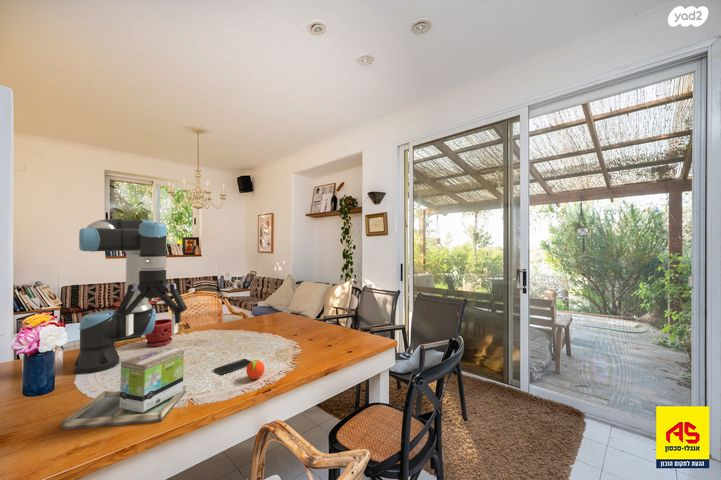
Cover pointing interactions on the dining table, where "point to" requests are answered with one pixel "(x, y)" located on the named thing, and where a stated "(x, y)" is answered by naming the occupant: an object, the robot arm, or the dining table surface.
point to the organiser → (116, 412)
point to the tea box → (151, 378)
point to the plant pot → (160, 333)
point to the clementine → (255, 369)
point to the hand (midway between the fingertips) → (152, 334)
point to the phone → (232, 366)
